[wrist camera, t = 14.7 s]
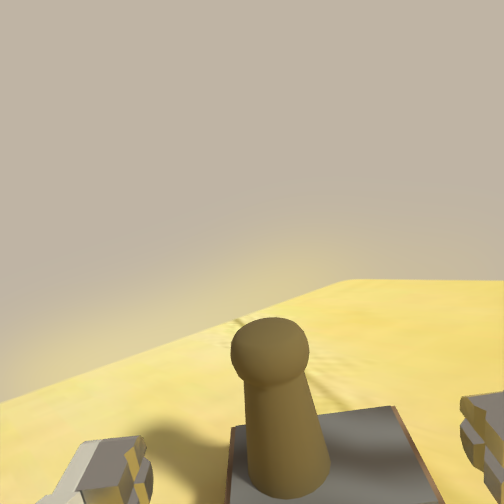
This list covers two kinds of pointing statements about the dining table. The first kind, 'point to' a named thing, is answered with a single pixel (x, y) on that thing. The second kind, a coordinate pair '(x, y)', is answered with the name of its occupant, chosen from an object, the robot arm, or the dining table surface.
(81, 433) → the dining table surface
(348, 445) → the walnut riser
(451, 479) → the dining table surface
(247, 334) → the brown chess pawn
